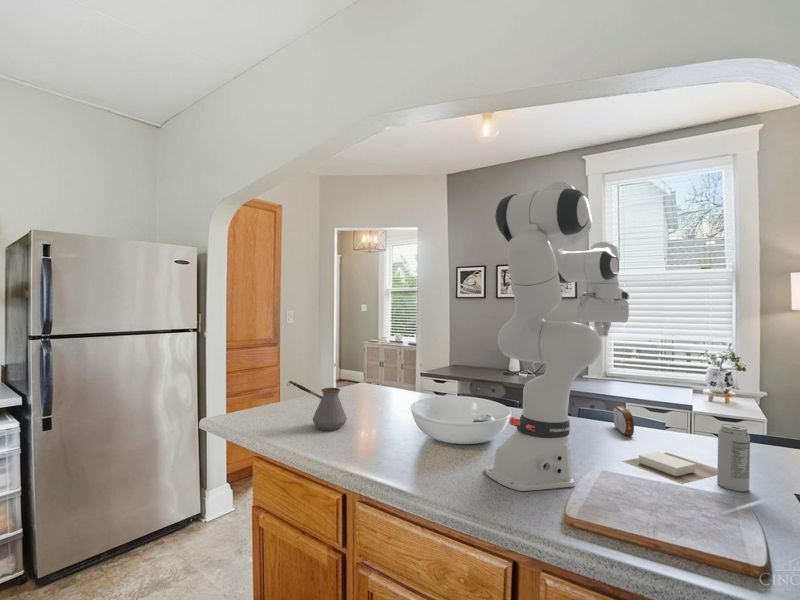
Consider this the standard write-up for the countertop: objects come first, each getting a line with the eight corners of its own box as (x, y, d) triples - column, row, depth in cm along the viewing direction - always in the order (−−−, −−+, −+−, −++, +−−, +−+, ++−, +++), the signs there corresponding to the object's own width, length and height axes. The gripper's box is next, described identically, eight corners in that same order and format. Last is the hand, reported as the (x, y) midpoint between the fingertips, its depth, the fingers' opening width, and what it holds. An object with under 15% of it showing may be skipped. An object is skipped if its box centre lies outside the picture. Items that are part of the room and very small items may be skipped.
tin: (634, 438, 139) (635, 413, 140) (624, 438, 140) (625, 412, 140) (620, 426, 154) (620, 403, 154) (611, 425, 155) (611, 403, 155)
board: (682, 486, 101) (682, 483, 101) (621, 463, 116) (621, 461, 116) (728, 474, 110) (728, 472, 110) (666, 454, 124) (666, 452, 124)
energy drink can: (734, 484, 103) (735, 423, 103) (756, 495, 97) (757, 430, 97) (710, 484, 103) (712, 423, 103) (730, 494, 97) (732, 430, 97)
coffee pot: (350, 424, 146) (351, 381, 146) (341, 433, 135) (342, 387, 135) (292, 419, 149) (294, 377, 150) (278, 428, 138) (280, 383, 138)
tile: (695, 472, 109) (676, 477, 105) (657, 459, 118) (638, 463, 114) (695, 463, 109) (676, 468, 105) (657, 451, 118) (638, 455, 114)
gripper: (588, 291, 127) (587, 337, 127) (632, 294, 136) (632, 337, 136) (572, 292, 133) (571, 335, 132) (615, 295, 142) (614, 335, 141)
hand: (602, 336), depth 134 cm, fingers closed
